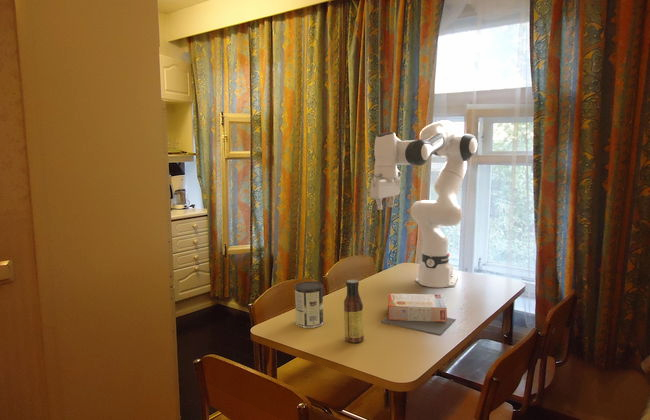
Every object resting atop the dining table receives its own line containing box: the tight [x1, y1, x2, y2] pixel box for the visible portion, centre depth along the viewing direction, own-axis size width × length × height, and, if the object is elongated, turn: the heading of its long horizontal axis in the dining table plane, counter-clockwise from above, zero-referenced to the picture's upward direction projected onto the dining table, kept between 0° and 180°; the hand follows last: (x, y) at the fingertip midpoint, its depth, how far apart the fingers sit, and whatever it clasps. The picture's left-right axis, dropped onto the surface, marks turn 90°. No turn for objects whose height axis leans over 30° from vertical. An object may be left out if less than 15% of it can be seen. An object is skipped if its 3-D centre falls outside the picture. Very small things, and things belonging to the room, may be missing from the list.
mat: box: [380, 316, 456, 336], centre depth 157 cm, size 16×22×1 cm
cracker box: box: [387, 292, 448, 322], centre depth 162 cm, size 14×6×21 cm
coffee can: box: [294, 281, 325, 329], centre depth 156 cm, size 10×10×14 cm
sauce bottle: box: [343, 279, 365, 344], centre depth 141 cm, size 6×6×20 cm
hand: (385, 208), depth 172 cm, fingers open, 8 cm apart
